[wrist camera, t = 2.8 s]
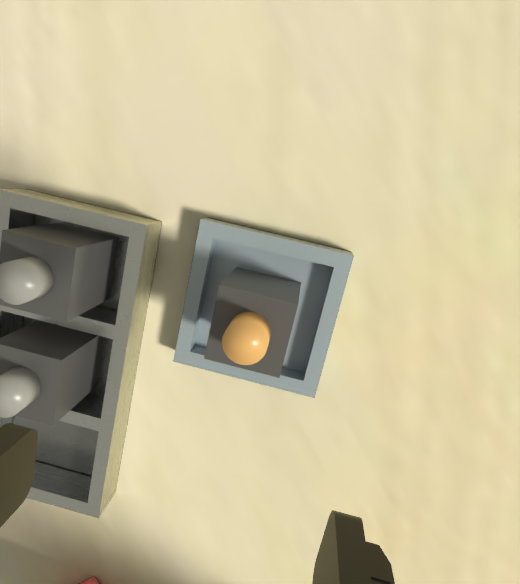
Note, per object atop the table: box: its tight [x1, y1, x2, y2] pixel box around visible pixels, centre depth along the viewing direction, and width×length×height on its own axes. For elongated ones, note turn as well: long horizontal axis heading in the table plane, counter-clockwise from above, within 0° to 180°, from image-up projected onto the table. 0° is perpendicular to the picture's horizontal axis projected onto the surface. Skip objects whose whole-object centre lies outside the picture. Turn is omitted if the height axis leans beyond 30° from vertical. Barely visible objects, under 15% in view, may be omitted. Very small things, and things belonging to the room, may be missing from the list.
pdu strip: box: [0, 189, 162, 518], centre depth 33 cm, size 10×22×3 cm, turn 167°
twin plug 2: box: [0, 320, 104, 426], centre depth 31 cm, size 4×4×8 cm
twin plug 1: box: [0, 223, 119, 322], centre depth 29 cm, size 4×4×8 cm
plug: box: [204, 267, 301, 378], centre depth 28 cm, size 4×4×8 cm
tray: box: [173, 218, 354, 398], centre depth 31 cm, size 10×10×2 cm
